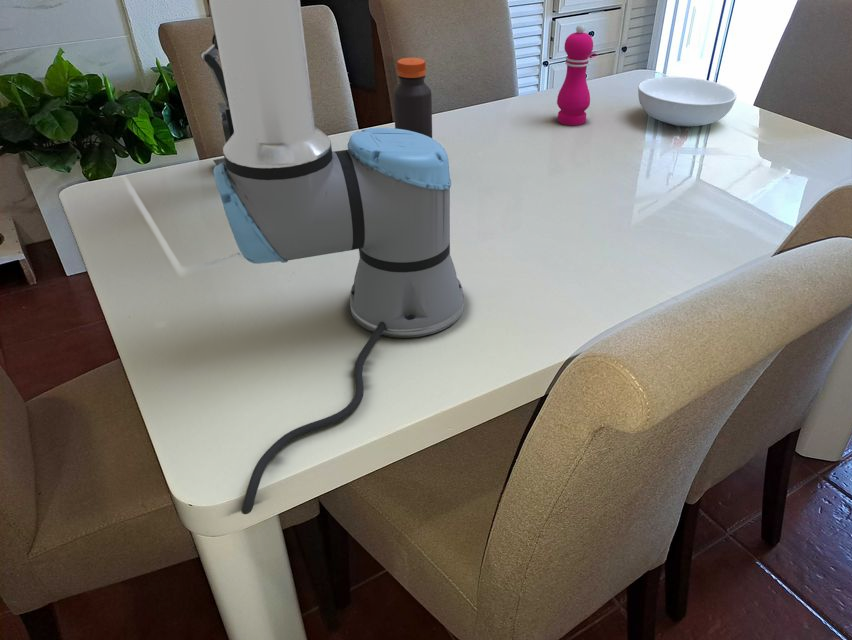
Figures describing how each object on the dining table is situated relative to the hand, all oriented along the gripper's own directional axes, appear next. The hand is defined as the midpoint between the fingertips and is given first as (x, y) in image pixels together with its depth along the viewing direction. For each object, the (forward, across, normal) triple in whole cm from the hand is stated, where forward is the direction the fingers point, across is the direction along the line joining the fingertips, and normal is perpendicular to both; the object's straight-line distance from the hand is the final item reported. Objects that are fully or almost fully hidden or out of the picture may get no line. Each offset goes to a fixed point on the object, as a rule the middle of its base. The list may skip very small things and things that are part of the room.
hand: (259, 150), depth 121 cm
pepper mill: (+8, -71, -2) cm, 71 cm away
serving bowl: (+8, -93, +11) cm, 94 cm away
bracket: (+8, 0, -10) cm, 12 cm away
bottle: (+8, -27, +6) cm, 29 cm away
